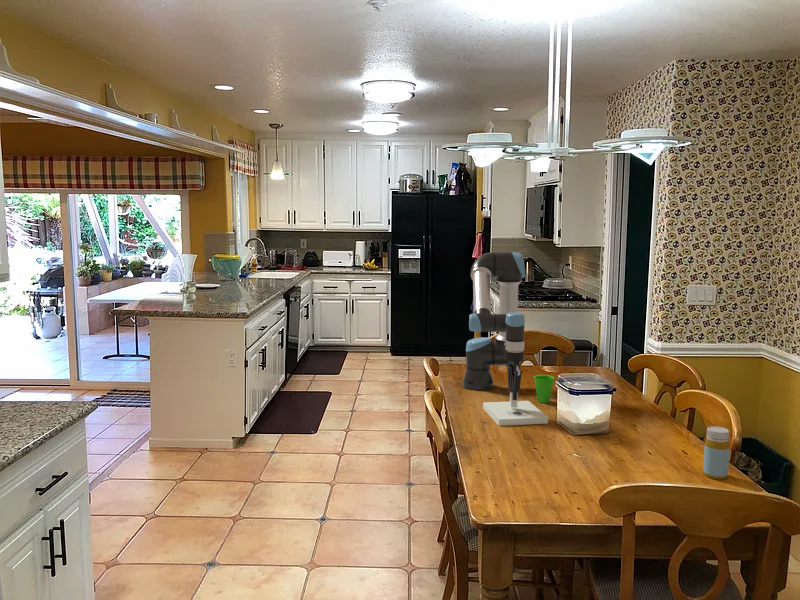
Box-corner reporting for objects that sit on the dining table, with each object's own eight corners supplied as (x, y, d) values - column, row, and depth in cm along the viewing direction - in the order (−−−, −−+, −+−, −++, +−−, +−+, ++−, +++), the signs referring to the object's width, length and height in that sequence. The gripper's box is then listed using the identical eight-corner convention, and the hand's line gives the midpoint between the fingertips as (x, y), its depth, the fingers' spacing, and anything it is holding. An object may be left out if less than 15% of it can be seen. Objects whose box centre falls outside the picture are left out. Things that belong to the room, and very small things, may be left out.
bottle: (698, 472, 206) (701, 426, 205) (719, 471, 207) (722, 425, 205) (710, 480, 200) (713, 433, 198) (732, 479, 200) (735, 432, 198)
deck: (482, 408, 277) (483, 402, 277) (528, 406, 280) (528, 400, 279) (498, 425, 254) (498, 419, 253) (548, 423, 256) (548, 417, 256)
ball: (512, 410, 263) (514, 412, 260) (520, 409, 264) (522, 412, 260) (512, 417, 264) (514, 420, 260) (520, 417, 264) (522, 419, 261)
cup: (552, 399, 291) (553, 375, 289) (555, 404, 282) (556, 380, 281) (532, 398, 292) (532, 374, 290) (534, 404, 283) (534, 379, 281)
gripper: (501, 347, 271) (500, 402, 274) (510, 354, 258) (509, 412, 261) (518, 347, 272) (517, 402, 275) (528, 353, 259) (527, 411, 262)
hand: (513, 406), depth 268 cm, fingers closed
